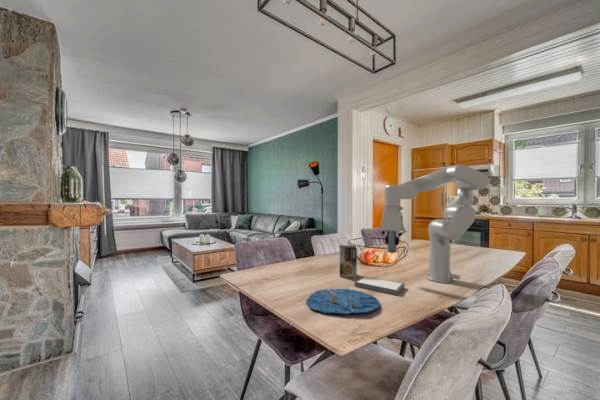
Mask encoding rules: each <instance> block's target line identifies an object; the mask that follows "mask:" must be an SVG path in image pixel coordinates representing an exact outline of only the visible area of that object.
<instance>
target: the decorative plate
mask: <svg viewBox="0 0 600 400" xmlns="http://www.w3.org/2000/svg"><path fill="white" fill-rule="evenodd" d="M305 303H306V304H307V306H308V308H309V309H310V310H312V311H313V310H314V311H319V312H322V313H325V314H326V313H328V314H332V313H334V314H339V315H350V314H353V313H354V314H357V313H370V312H371V311H374V310H376V309H379V307H380V306H381V303H380V300H379V299H378V298H376V296H373V295H372V294H368V293H365V292H363V291H360V290H354V289H350V288H331V289H320V290H315V291H314V293H311V294H310V295H309V297H307V299H306V301H305Z"/></svg>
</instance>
